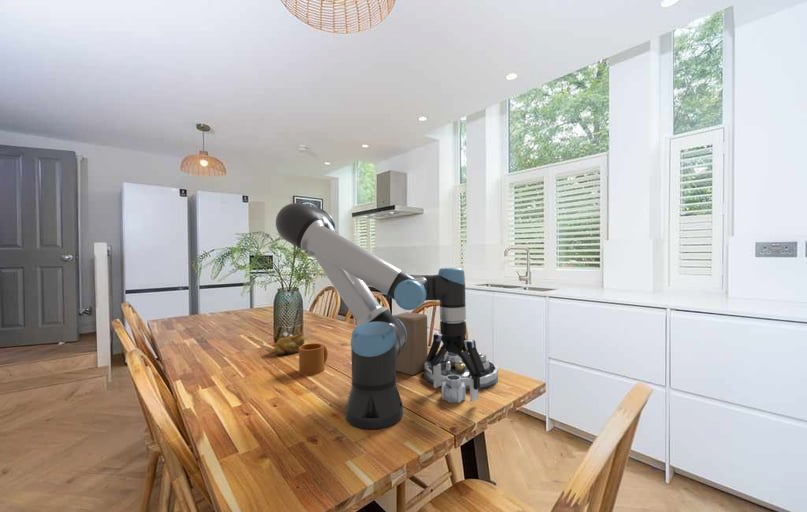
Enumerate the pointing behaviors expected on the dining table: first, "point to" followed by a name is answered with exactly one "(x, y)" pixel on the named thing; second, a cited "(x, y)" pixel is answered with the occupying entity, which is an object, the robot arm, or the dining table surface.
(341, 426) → the dining table surface
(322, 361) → the mug
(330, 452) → the dining table surface
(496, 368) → the carrier
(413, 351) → the wooden block
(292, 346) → the bread roll
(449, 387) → the gear
